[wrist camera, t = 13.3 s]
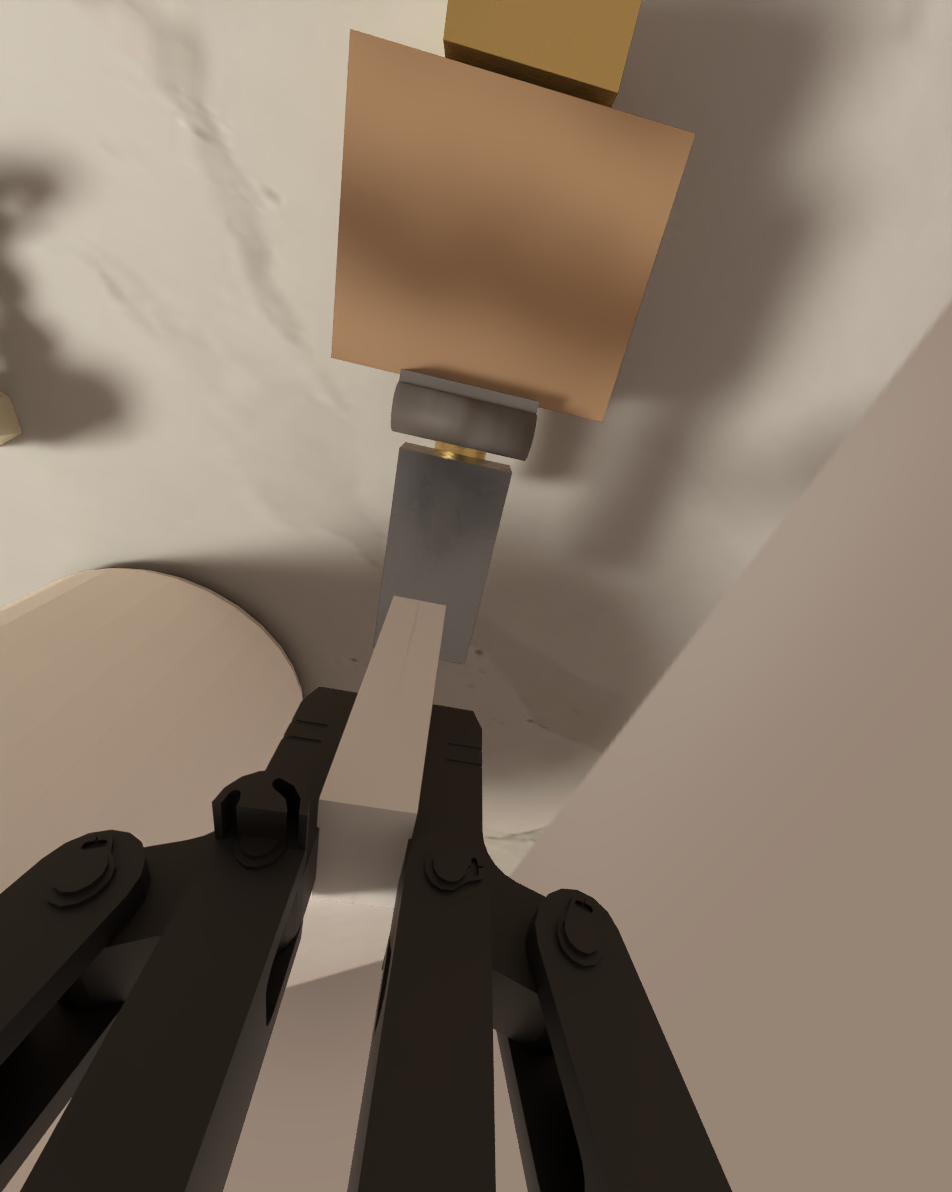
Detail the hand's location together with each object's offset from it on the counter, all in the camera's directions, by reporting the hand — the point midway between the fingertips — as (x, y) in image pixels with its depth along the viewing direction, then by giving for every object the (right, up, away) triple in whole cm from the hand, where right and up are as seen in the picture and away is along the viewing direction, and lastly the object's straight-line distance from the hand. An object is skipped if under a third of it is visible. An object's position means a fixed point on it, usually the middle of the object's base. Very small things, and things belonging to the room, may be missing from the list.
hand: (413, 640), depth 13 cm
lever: (0, +3, +5) cm, 6 cm away
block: (+3, +16, +9) cm, 19 cm away
